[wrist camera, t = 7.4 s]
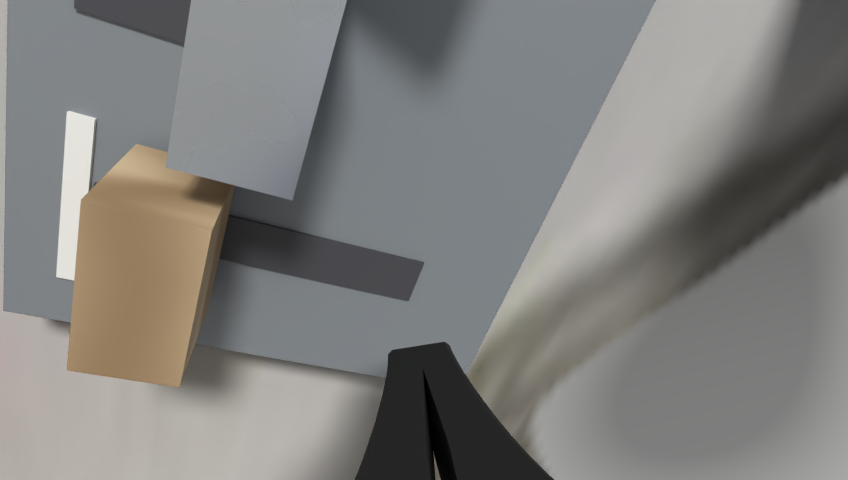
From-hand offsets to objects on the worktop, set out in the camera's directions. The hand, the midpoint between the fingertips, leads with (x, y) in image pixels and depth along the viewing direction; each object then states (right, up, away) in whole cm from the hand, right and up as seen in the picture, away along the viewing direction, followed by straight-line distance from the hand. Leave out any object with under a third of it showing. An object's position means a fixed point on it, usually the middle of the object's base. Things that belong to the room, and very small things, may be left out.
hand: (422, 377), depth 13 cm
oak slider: (-7, +3, +2) cm, 8 cm away
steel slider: (-3, +8, 0) cm, 8 cm away
